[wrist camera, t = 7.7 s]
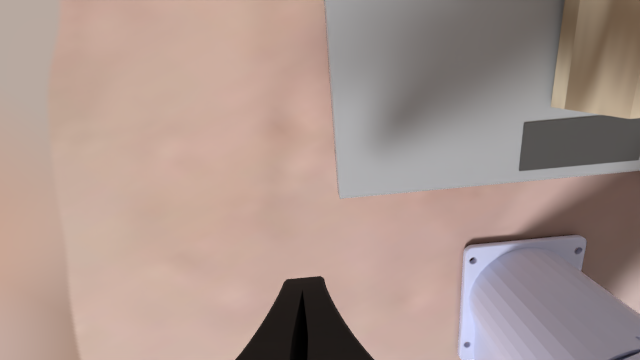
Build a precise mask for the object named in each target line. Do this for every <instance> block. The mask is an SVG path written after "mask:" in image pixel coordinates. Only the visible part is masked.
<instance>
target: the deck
mask: <svg viewBox="0 0 640 360" xmlns="http://www.w3.org/2000/svg"><path fill="white" fill-rule="evenodd" d="M564 2H565V0H324V5H325V19H326V33H327V47H328V60H329V74H330V88H331V102H332V116H333V129H334V143H335V157H336V171H337V185H338V193H339V197H340V199H342V198H353V197H363V196H374V195H385V194H395V193H406V192H417V191H428V190H438V189H449V188H460V187H470V186H481V185H492V184H503V183H513V182H524V181H535V180H545V179H556V178H567V177H578V176H588V175H599V174H610V173H620V172H631V171H640V118H635V119H626V118H619V117H613V116H606V115H600V114H593V113H586V112H580V111H573V110H567V109H560V108H554V107H551V100H552V93H553V85H554V77H555V70H556V62H557V55H558V47H559V40H560V32H561V25H562V17H563V9H564Z"/></svg>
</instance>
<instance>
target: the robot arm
mask: <svg viewBox="0 0 640 360" xmlns="http://www.w3.org/2000/svg"><path fill="white" fill-rule="evenodd" d="M586 243H587V241H586V239H585V238H584V237H582V236H580V235H569V236H559V237H548V238H538V239H527V240H517V241H506V242H496V243H485V244H475V245H469V246H467V247H466V248H465V249H464V254H463V271H462V288H461V305H460V322H459V339H458V355H459V357H460V358H461V359H462V360H640V314H638V313H637V312H636V311H634V310H633V309H632V308H630V307H629V306H628V305H626V304H625V303H623V302H622V301H621V300H619V299H618V298H617V297H615V296H614V295H613V294H611V293H610V292H608V291H607V290H606V289H604V288H603V287H602V286H600V285H599V284H598V283H596V282H595V281H594V280H592V279H591V278H589V277H588V276H587V275H585V274H584V273H583V272H581V270H582V264H583V259H584V254H585V249H586ZM576 248H577V250H575V249H576ZM473 257H474V259H473V260H472V261H469V260H470V259H471V258H473ZM466 342H467V343H466ZM236 360H374V359H373V358H372V357H371V356H370V354H369V353H368V352H367V351H366V350H365V349H364V347H363V346H362V345H361V344H360V343H359V341H358V340H357V339H356V337H355V336H354V335H353V333H352V332H351V330H350V329H349V328H348V326H347V325H346V323H345V322H344V320H343V319H342V317H341V315H340V314H339V312H338V310H337V308H336V307H335V305H334V303H333V301H332V299H331V297H330V295H329V293H328V290H327V288H326V285H325V281H324V278H322V277H321V276H318V277H307V278H297V279H287V280H286V281H285V282H284V284H283V286H282V288H281V290H280V293H279V295H278V297H277V298H276V300H275V302H274V304H273V306H272V308H271V309H270V311H269V313H268V314H267V316H266V318H265V319H264V321H263V323H262V324H261V326H260V327H259V329H258V330H257V332H256V333H255V334H254V336H253V337H252V339H251V340H250V342H249V343H248V344H247V346H246V347H245V348H244V350H243V351H242V352H241V354H240V355H239V356H238V357H237V358H236Z"/></svg>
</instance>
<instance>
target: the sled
mask: <svg viewBox="0 0 640 360" xmlns="http://www.w3.org/2000/svg"><path fill="white" fill-rule="evenodd" d="M551 107H554V108H560V109H567V110H573V111H580V112H586V113H593V114H600V115H606V116H613V117H619V118H626V119H635V118H640V0H565V2H564V9H563V17H562V25H561V32H560V40H559V47H558V55H557V62H556V70H555V77H554V85H553V93H552V100H551Z"/></svg>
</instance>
